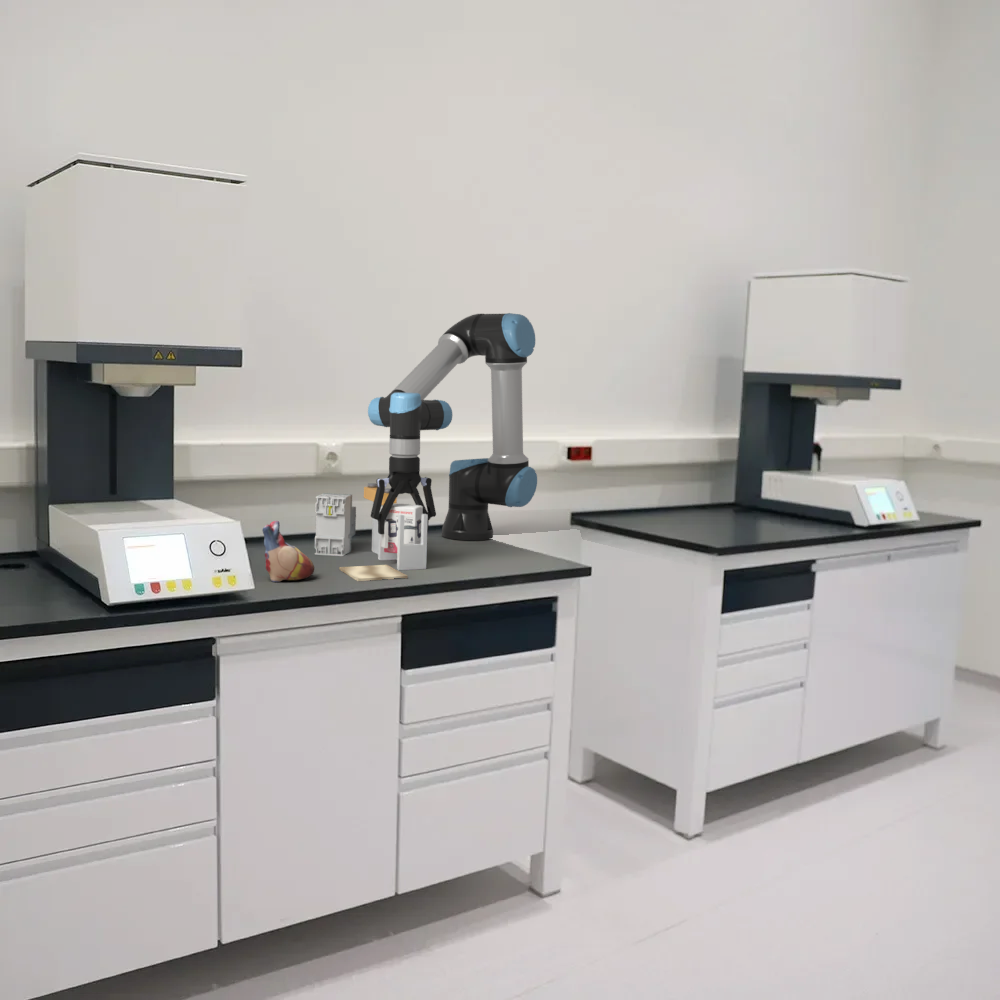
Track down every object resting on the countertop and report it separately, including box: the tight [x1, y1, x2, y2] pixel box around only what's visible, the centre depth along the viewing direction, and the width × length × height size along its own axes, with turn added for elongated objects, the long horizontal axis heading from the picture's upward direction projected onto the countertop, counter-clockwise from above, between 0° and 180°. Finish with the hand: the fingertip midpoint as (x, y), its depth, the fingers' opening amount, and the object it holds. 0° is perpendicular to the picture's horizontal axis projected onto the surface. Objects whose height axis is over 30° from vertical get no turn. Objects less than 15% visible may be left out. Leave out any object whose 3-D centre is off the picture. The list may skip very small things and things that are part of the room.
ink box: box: [384, 503, 423, 553], centre depth 247 cm, size 8×5×12 cm, turn 72°
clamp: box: [371, 501, 429, 571], centre depth 252 cm, size 7×26×13 cm, turn 26°
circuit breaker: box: [314, 492, 357, 557], centre depth 262 cm, size 8×14×15 cm, turn 174°
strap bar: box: [363, 482, 398, 505], centre depth 261 cm, size 4×15×4 cm, turn 26°
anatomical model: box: [262, 520, 315, 583], centre depth 223 cm, size 10×9×15 cm
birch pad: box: [338, 564, 408, 582], centre depth 234 cm, size 12×14×1 cm
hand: (403, 546), depth 248 cm, fingers closed on ink box, 9 cm apart
